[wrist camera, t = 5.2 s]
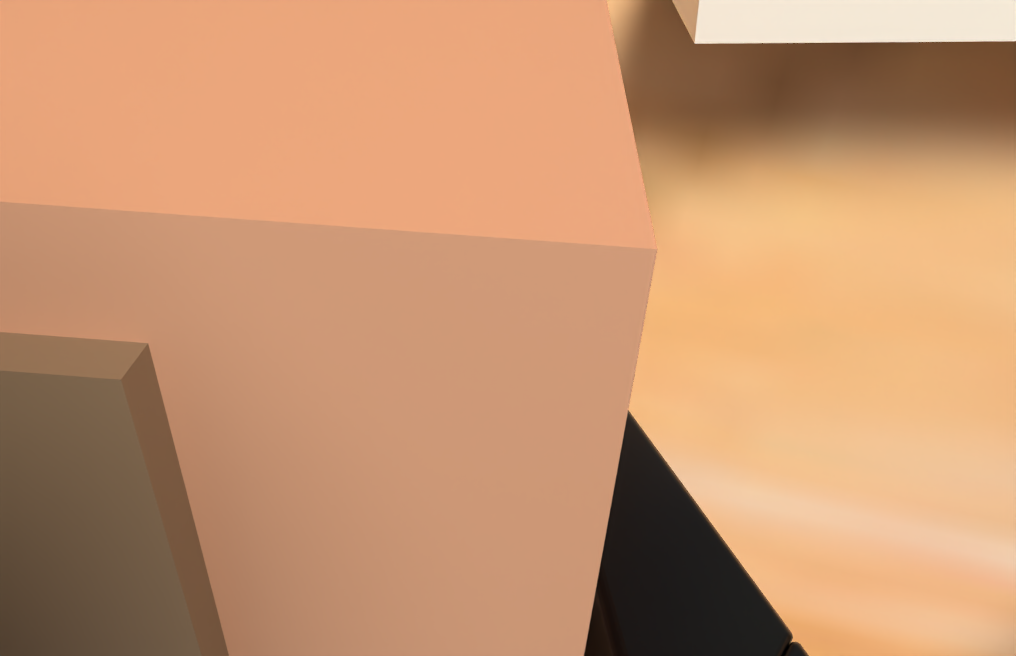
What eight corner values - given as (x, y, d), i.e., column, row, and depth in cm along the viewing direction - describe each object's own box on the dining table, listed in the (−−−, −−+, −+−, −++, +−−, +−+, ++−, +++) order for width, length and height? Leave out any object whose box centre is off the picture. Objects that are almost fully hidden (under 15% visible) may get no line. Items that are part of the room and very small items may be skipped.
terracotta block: (531, 577, 11) (512, 1081, 7) (213, 552, 11) (-5, 1031, 7) (596, -46, 6) (661, 285, 2) (58, -79, 7) (-896, 168, 2)
